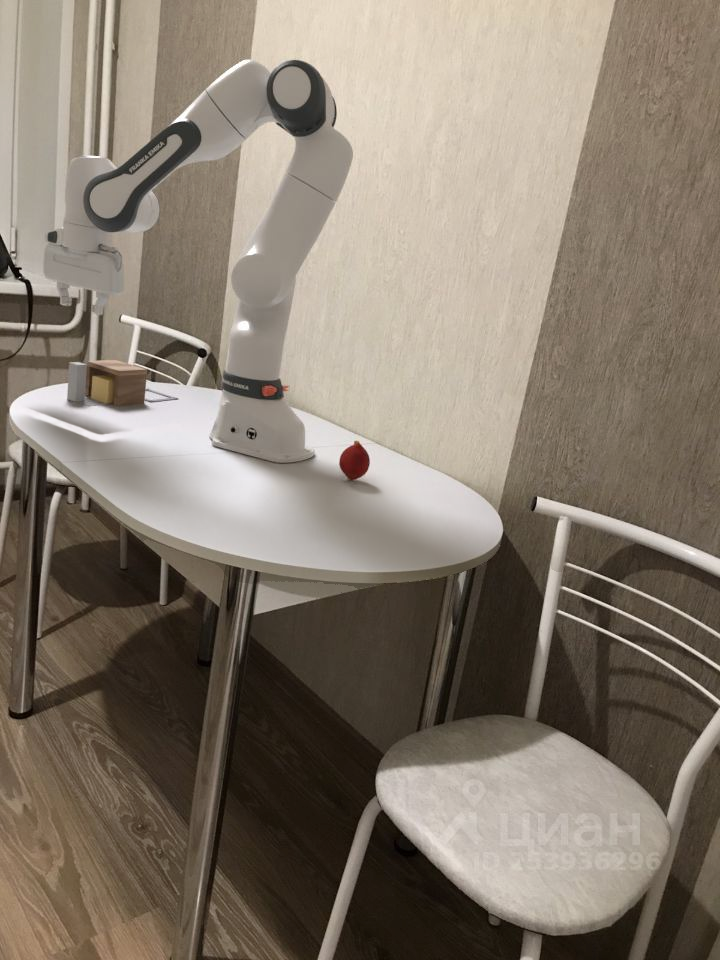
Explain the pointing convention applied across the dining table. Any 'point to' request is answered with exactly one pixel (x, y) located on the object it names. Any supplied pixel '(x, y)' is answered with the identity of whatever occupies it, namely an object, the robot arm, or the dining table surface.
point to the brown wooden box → (119, 380)
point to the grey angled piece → (79, 385)
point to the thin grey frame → (160, 394)
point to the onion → (354, 461)
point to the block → (103, 388)
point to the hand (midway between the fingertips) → (81, 309)
